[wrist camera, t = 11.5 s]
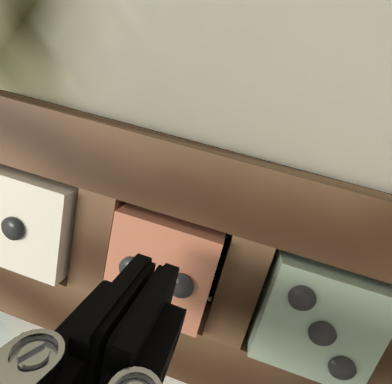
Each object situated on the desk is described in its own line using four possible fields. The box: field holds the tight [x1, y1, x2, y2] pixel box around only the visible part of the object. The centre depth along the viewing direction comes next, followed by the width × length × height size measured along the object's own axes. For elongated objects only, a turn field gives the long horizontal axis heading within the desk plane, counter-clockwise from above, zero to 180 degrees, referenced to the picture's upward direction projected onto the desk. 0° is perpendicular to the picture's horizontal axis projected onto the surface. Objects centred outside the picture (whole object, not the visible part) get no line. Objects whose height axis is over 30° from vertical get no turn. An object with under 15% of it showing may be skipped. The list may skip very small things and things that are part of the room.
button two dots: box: [103, 203, 226, 338], centre depth 14 cm, size 5×5×3 cm
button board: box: [0, 90, 392, 384], centre depth 14 cm, size 12×23×2 cm, turn 76°
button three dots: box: [247, 249, 392, 384], centre depth 13 cm, size 5×5×3 cm
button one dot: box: [0, 164, 79, 287], centre depth 15 cm, size 5×5×3 cm
